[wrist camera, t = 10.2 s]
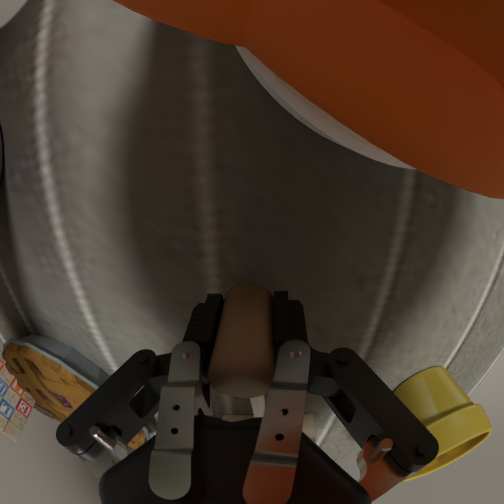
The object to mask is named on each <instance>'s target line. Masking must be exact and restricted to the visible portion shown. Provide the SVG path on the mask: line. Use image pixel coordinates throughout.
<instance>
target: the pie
mask: <svg viewBox="0 0 504 504" xmlns="http://www.w3.org/2000/svg"><path fill="white" fill-rule="evenodd" d="M3 349H4V350H3V353H2V356H3V359H4V360H5V361H6V363H5V367H6V369H7V370H8V372H9V373H10V374H12V375H14V377H15V378H16V379H17V384H18V386H19V387H20V388H21V389H22V390H23V391H26V392H28V393H29V394H30V395H31V396H32V398H33V400H34V401H35V402H36V403H37V404H39V405H40V406H41V407H43V408H45V409H46V410H48V411H49V412H50V413H51V414H53V417H54V418H56V419H57V420H58V421H60V422H61V423H62V422H63V421H64V420H65V419H66V418H67V417H68V416H69V415H70V414H71V413H72V412H74V411H75V410H76V409H77V408H78V407H79V406H80V405H81V404H82V403H83V402H84V401H85V400H86V399H87V398H88V397H89V396H90V395H91V394H92V393H93V392H94V391H96V390H97V389H98V388H99V387H100V386H101V385H102V384H103V383H104V382H105V381H106V380H107V379H108V378H109V377H110V376H109V375H108V374H107V373H106V372H105V371H104V370H103V369H102V368H100V367H99V366H98V365H96V364H95V363H93V362H92V361H90V360H89V359H88V358H86V357H85V356H83V355H82V354H81V353H79V352H78V351H77V350H75V349H74V348H72V347H70V346H68V345H65V344H63V343H61V342H59V341H57V340H55V339H52V338H50V337H45V336H39V335H33V334H31V335H28V336H25V337H23V338H20V339H10V340H8V341H7V342H6V343H5V344H3ZM131 399H132V398H131ZM131 399H130V400H131ZM149 439H150V437H149V433H148V429H147V427H146V426H144V427H143V428H142V429H141V430H140V432H139V433H138V434H137V435H136V436H135V437H134V438H133V439H132V440H131V441H130V442H129V443H128V444H127V445H128V446H130V447H132V448H133V449H137V448H139V447H140V446H141V445H143V444H144V443H145V442H147V441H148V440H149Z"/></svg>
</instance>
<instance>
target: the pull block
mask: <svg viewBox="0 0 504 504" xmlns="http://www.w3.org/2000/svg"><path fill="white" fill-rule="evenodd" d="M276 365H277V356H276V353H275V329H274V296H273V295H272V293H271V292H270V291H269V290H267V289H266V288H264V287H262V286H260V285H256V284H241V285H237V286H235V287H233V288H232V289H230V290H229V291H228V292H227V294H226V295H225V298H224V302H223V307H222V311H221V316H220V320H219V325H218V329H217V334H216V339H215V343H214V348H213V353H212V357H211V362H210V367H209V372H208V381H209V383H210V384H211V385H212V386H213V387H214V388H215V389H216V390H218V391H219V392H221V393H223V394H226V395H229V396H233V397H238V398H250V401H251V405H252V410H253V415H254V418H255V417H263V414H264V410H265V399H264V395H265V394H268V392H269V388H270V385H271V384H272V383H273V379H274V374H275V370H276Z"/></svg>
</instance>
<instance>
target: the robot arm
mask: <svg viewBox="0 0 504 504" xmlns="http://www.w3.org/2000/svg"><path fill="white" fill-rule="evenodd" d="M1 173H2V140H1V132H0V180H1ZM223 302H224V299H223V295H222V293H219V294H208V295H207V298H206V301H205V303H199V304H198V305H197V306H196V307H195V308H194V309H193V312H192V315H191V318H190V321H189V324H188V327H187V330H186V333H185V336H184V339H183V342H181V343H179V344H177V345H176V346H175V347H174V348H173V350H172V352H171V353H168V354H163V355H158V356H156V354H155V353H154V352H153V351H152V350H149V349H144V350H140V351H138V352H136V353H135V354H134V355H133V356H131V357H130V358H129V359H128V360H127V361H126V362H125V363H124V364H123V365H122V366H121V367H120V368H119V369H118V370H117V371H116V372H115V373H113V374H112V375H111V376H110V377H109V378H108V379H107V380H106V381H105V382H104V383H103V384H102V385H101V386H100V387H99V388H98V389H97V390H96V391H94V392H93V393H92V394H91V395H90V396H89V397H88V398H87V399H86V400H85V401H84V402H83V403H82V404H81V405H80V406H79V407H78V408H77V409H76V410H75V411H74V412H72V413H71V414H70V415H69V416H68V417H67V418H66V419H65V420H64V421H63V422H62V423H61V424H60V425H59V426H58V428H57V431H56V438H57V440H58V442H59V443H60V444H61V445H63V446H64V447H65V448H66V449H68V450H69V451H70V452H71V453H72V454H74V455H75V456H77V457H78V458H79V459H81V460H82V462H83V463H84V464H85V465H86V466H87V467H88V468H89V469H90V470H91V471H92V472H93V473H94V474H95V475H96V476H97V477H98V479H99V480H100V482H99V496H100V499H101V503H102V504H371V502H372V501H373V500H375V499H377V498H378V497H380V496H381V495H383V494H384V493H386V492H387V491H388V490H390V489H391V488H393V487H394V486H395V485H396V484H398V483H399V482H402V481H404V480H405V479H407V478H409V477H410V476H412V475H413V474H415V473H416V472H418V471H419V470H421V469H422V468H423V467H425V466H426V465H428V464H429V463H430V462H432V461H433V460H434V459H435V458H436V456H437V454H438V451H439V444H438V441H437V439H436V438H435V437H434V436H433V435H432V434H431V433H430V431H429V430H428V429H427V428H426V427H425V426H424V425H423V424H422V423H421V422H420V421H419V420H418V419H417V417H416V416H415V415H414V414H413V413H412V412H411V411H410V410H409V409H408V408H407V407H406V406H405V405H404V404H403V402H402V401H401V400H400V399H399V398H398V397H397V396H396V395H395V394H394V393H393V392H392V391H391V390H390V389H389V388H388V386H387V385H386V384H385V383H384V382H383V381H382V380H381V379H380V378H379V377H378V376H377V375H376V374H375V373H374V372H373V370H372V369H371V368H370V367H369V366H368V365H367V364H366V363H365V362H364V361H363V360H362V359H361V358H360V357H359V356H358V355H357V354H356V353H355V352H354V351H353V350H351V349H348V348H337V349H335V350H333V351H332V352H331V353H330V354H329V353H323V352H319V351H316V350H314V349H313V348H312V347H311V346H310V345H309V343H308V339H307V331H306V324H305V317H304V310H303V305H302V304H301V303H300V301H299V300H288V291H274V329H275V353H276V356H277V365H276V370H275V374H274V379H273V383H272V384H271V385H270V388H269V392H268V396H267V401H266V405H265V410H264V414H263V417H255V418H250V419H245V420H240V421H235V422H230V421H226V420H222V419H219V418H215V417H213V413H212V385H211V384H210V383H209V381H208V372H209V367H210V362H211V357H212V353H213V348H214V343H215V339H216V334H217V329H218V325H219V320H220V316H221V311H222V307H223ZM143 385H144V387H143ZM142 387H143V388H142ZM141 388H142V389H141ZM140 389H141V390H140ZM139 390H140V391H139ZM138 391H139V392H138ZM137 392H138V393H137ZM136 393H137V394H136ZM307 393H311V394H316V395H321V396H323V398H324V400H325V401H326V402H327V404H328V405H329V406H330V408H331V409H332V410H333V412H334V413H335V414H336V416H337V417H338V418H339V420H340V421H341V422H342V424H343V425H344V426H345V428H346V429H347V430H348V432H349V433H350V434H351V436H352V437H353V438H354V440H355V441H356V442H357V443H358V445H359V446H360V447H361V449H362V450H361V451H360V452H359V454H358V456H357V465H358V467H359V469H360V479H359V481H358V482H357V481H356V480H355V479H353V478H352V477H351V476H350V475H349V474H348V473H346V472H345V471H344V470H343V469H342V468H341V467H340V466H339V465H338V464H337V463H335V462H334V461H333V460H332V459H331V458H330V457H329V456H328V455H327V454H326V453H325V452H324V451H323V450H322V449H321V448H319V447H318V446H317V445H316V444H315V443H314V442H313V441H312V440H311V439H310V438H309V437H308V436H307V435H306V434H305V433H304V432H302V426H303V419H304V411H305V402H306V394H307ZM135 394H136V395H135ZM134 395H135V396H134ZM133 396H134V397H133ZM132 397H133V398H132ZM131 398H132V399H131ZM130 399H131V400H130ZM157 412H158V420H157V429H156V435H154V436H153V437H152V438H151V439H149V440H148V441H147V442H145V443H144V444H143V445H141V446H140V447H139V448H137V449H136V450H135V451H133V452H132V453H131V454H129V455H128V452H127V451H128V445H127V444H128V443H129V442H130V441H131V440H132V439H133V438H134V437H135V436H136V435H137V434H138V433H139V432H140V430H141V429H142V428H143V427H144V426H145V425H146V424H147V423H148V422H149V421H150V419H151V418H152V417H153V416H154V415H155V414H156V413H157Z"/></svg>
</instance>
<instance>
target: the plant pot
mask: <svg viewBox="0 0 504 504" xmlns="http://www.w3.org/2000/svg"><path fill="white" fill-rule="evenodd" d="M394 394H395V395H396V396H397V397H398V398H399V399H400V400H401V401H402V402H403V404H404V405H405V406H406V407H407V408H408V409H409V410H410V411H411V412H412V413H413V414H414V415H415V416H416V417H417V419H418V420H419V421H420V422H421V423H422V424H423V425H424V426H425V427H426V428H427V429H428V430H429V431H430V433H431V434H432V435H433V436H434V437H435V438H436V439H437V441H438V444H439V451H438V454H437V456H436V458H435V459H434V460H433V461H432V462H430V463H429V464H428V465H426V466H425V467H423V468H422V469H421V470H419V471H418V472H416V473H415V474H413V475H412V476H410V477H409V478H407V479H405V480H404V481H408V480H412V479H415V478H418V477H421V476H424V475H426V474H429V473H431V472H433V471H436V470H438V469H440V468H442V467H444V466H446V465H448V464H450V463H452V462H453V461H455V460H457V459H459V458H461V457H462V456H464V455H465V454H467V453H468V452H470V451H471V450H473V449H474V448H475V447H477V446H478V445H479V444H480V443H482V442H483V441H484V440H485V439H486V438H487V437H488V436H489V435H490V434H491V433H492V426H491V424H490V421H489V419H488V416H487V414H486V412H485V410H484V409H483V407H482V405H480V404H474V403H473V402H472V401H471V400H470V398H469V397H468V396H467V395H466V393H465V392H464V391H463V390H462V388H461V387H460V386H459V385H458V384H457V382H456V381H455V380H454V379H453V378H452V376H451V375H450V374H449V373H448V371H447V370H446V369H445V368H444V367H441V366H436V367H431V368H428V369H425V370H422V371H420V372H418V373H416V374H414V375H413V376H411V377H410V378H408V379H407V380H406V381H404V382H403V383H402V384H401V385H400V386H399V387H398V388H397V389H396V390H395V392H394ZM404 481H402V482H404Z"/></svg>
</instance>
